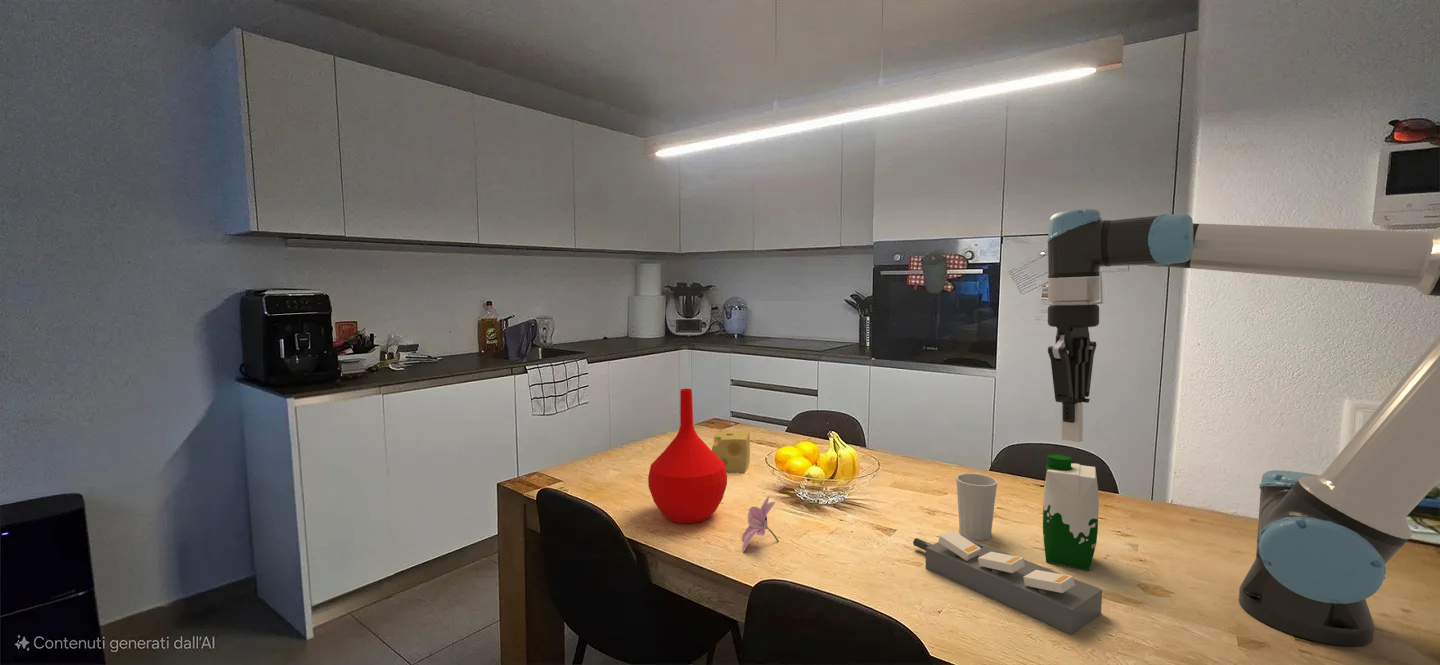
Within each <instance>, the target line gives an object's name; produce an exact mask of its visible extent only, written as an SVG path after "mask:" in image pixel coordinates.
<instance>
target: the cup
mask: <svg viewBox="0 0 1440 665" xmlns="http://www.w3.org/2000/svg"><path fill="white" fill-rule="evenodd" d="M955 480H956V493H957V494H956V495H957V508H958V509H957V511H958V525H959V528H958V530H959V532H958V534H960V535H962V536H964V537H967V538H969V539H972V540H975V541H977V542H979V541H980V542H982V541H983V542H984V541H988V540H991V538H992V532H993V530H992V529H993V519H994V513H995V505H996V504H995V503H996V495H997V487H998V480H997V479H996V478H994V477H993V476H989V475H986V474H981V473H971V472H969V473H968V472H967V473H961V474H958V475H957V476H956V478H955Z"/></svg>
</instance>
